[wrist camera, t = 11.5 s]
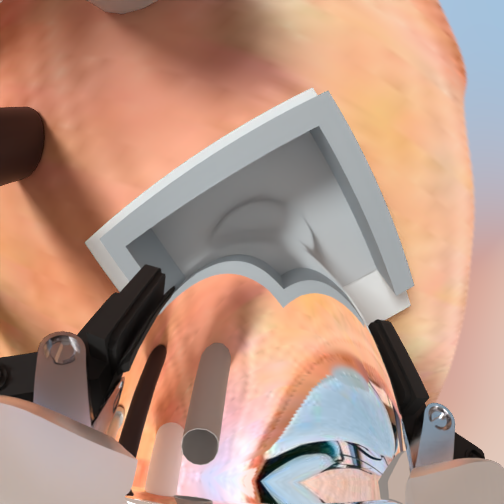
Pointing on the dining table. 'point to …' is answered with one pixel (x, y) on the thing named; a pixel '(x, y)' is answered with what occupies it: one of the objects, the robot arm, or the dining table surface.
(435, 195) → the dining table surface
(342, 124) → the dock
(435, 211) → the dining table surface
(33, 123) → the bottle
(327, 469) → the beer glass
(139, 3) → the cup
